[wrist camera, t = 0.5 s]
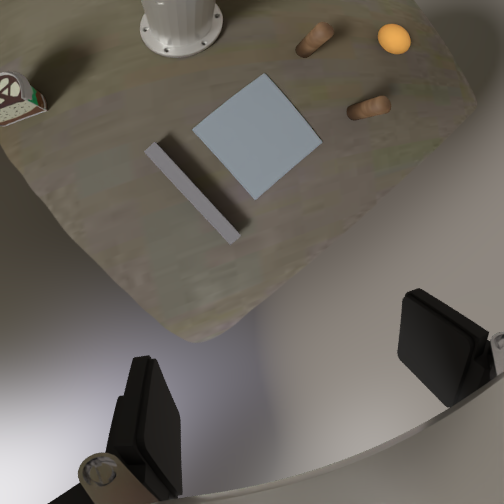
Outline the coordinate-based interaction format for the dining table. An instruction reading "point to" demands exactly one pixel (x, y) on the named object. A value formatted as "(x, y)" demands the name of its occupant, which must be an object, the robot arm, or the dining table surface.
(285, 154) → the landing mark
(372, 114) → the post
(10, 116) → the food container
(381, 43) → the ball
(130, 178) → the dining table surface
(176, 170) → the wall
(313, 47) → the post
